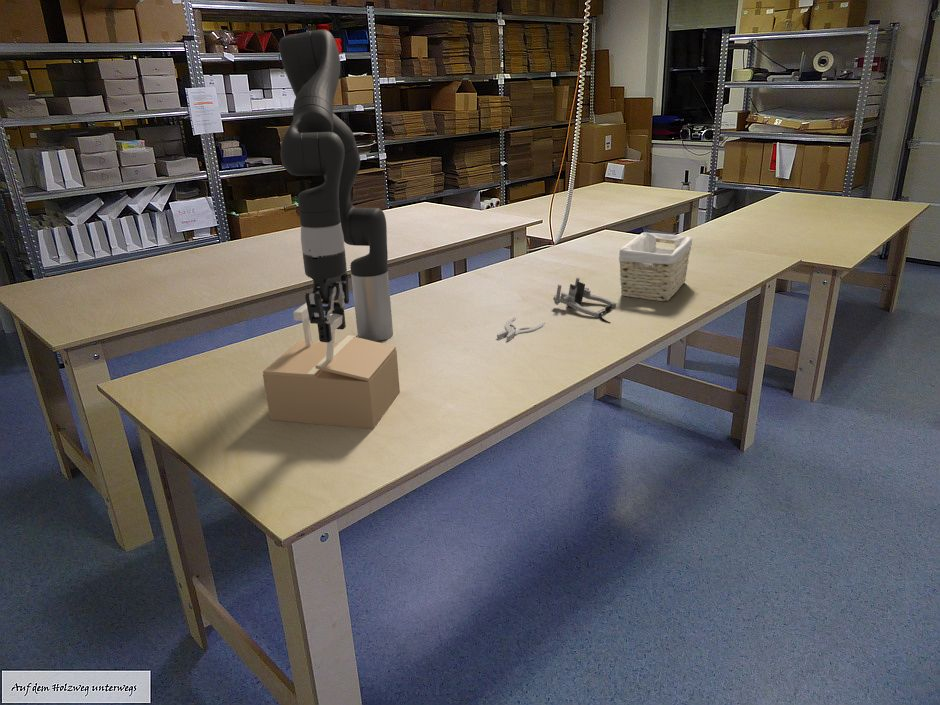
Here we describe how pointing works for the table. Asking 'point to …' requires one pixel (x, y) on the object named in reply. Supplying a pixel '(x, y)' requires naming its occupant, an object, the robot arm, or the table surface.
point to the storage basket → (653, 266)
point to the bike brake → (576, 299)
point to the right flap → (353, 354)
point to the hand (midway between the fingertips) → (333, 334)
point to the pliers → (512, 332)
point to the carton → (326, 387)
